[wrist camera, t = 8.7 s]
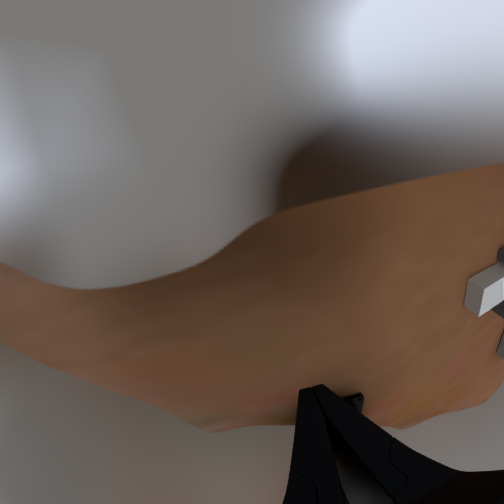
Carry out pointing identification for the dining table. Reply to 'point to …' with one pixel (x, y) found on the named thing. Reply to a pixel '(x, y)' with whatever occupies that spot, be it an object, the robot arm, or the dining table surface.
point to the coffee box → (501, 347)
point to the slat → (485, 289)
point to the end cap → (503, 307)
